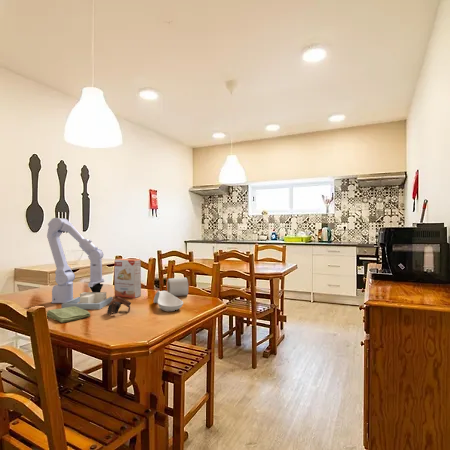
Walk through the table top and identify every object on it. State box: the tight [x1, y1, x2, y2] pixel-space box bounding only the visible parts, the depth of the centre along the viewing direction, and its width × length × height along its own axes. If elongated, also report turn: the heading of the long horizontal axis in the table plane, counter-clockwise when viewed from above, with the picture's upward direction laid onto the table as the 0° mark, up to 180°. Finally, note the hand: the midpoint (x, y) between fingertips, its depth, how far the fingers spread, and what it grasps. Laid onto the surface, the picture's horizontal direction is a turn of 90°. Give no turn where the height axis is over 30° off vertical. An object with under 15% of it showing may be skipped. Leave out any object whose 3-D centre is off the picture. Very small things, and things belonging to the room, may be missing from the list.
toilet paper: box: [166, 277, 189, 297], centre depth 178 cm, size 10×10×10 cm
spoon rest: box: [153, 290, 184, 312], centre depth 152 cm, size 24×12×7 cm, turn 32°
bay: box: [61, 296, 114, 310], centre depth 158 cm, size 18×16×2 cm
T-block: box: [79, 291, 107, 303], centre depth 159 cm, size 12×12×5 cm
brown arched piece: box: [106, 296, 132, 316], centre depth 142 cm, size 12×10×8 cm
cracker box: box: [114, 258, 142, 299], centre depth 178 cm, size 14×6×21 cm, turn 68°
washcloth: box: [46, 306, 91, 324], centre depth 137 cm, size 13×18×3 cm
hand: (96, 298), depth 167 cm, fingers closed
